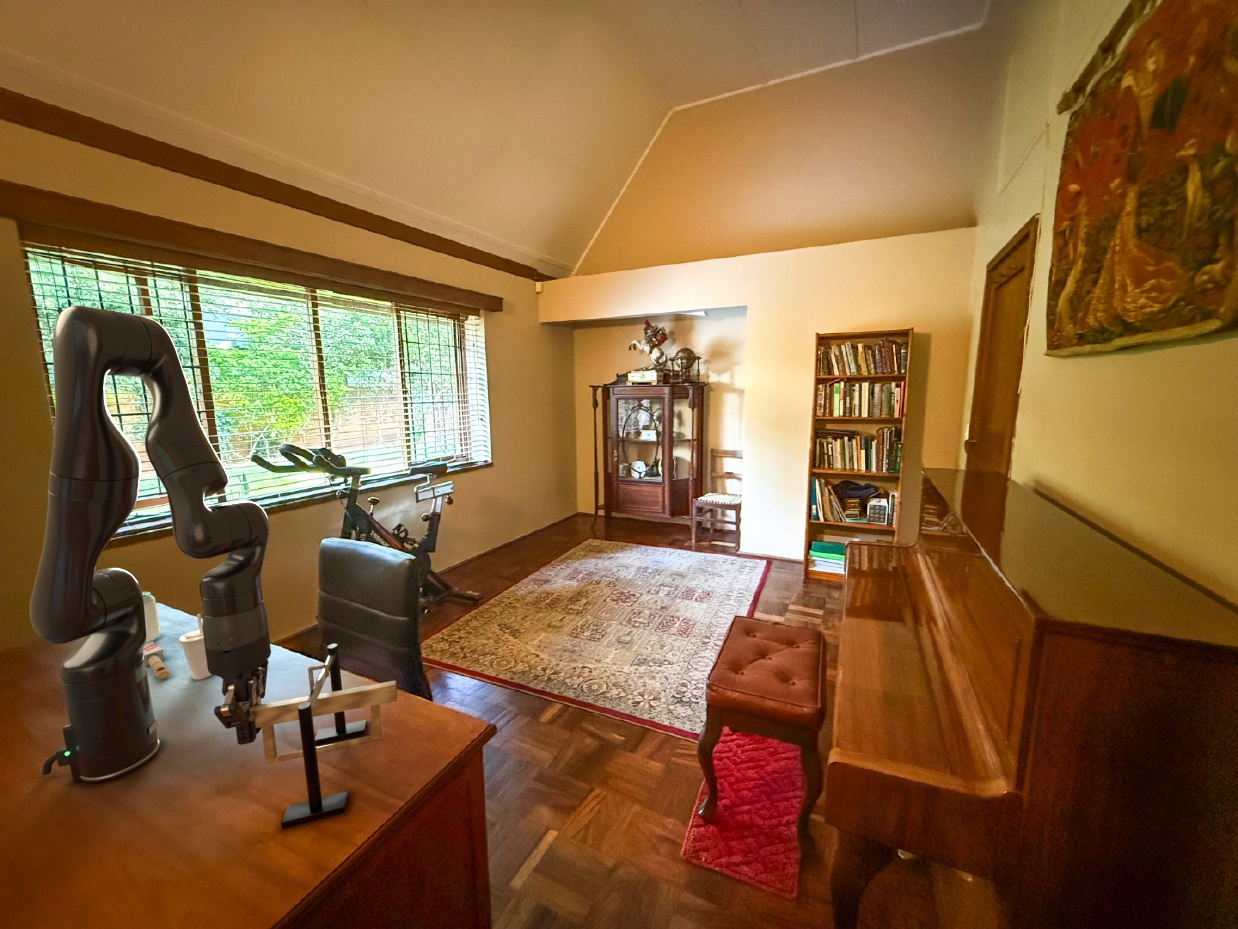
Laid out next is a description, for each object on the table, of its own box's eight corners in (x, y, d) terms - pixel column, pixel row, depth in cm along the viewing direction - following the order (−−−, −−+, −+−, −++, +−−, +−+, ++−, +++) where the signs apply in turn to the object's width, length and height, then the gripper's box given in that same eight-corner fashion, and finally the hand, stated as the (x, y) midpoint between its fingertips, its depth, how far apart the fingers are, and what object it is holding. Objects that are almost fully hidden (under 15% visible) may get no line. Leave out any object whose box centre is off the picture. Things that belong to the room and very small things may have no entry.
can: (152, 631, 123) (145, 588, 121) (166, 637, 120) (159, 593, 118) (115, 645, 117) (107, 599, 115) (130, 651, 114) (121, 604, 112)
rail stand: (281, 829, 67) (267, 718, 65) (318, 734, 86) (308, 645, 83) (344, 812, 70) (333, 705, 67) (367, 724, 88) (359, 638, 86)
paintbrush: (154, 634, 115) (174, 666, 104) (155, 645, 116) (175, 677, 104) (132, 641, 112) (150, 674, 101) (133, 651, 113) (151, 685, 101)
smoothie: (227, 671, 105) (219, 613, 103) (190, 686, 100) (181, 625, 98) (216, 663, 109) (208, 606, 106) (180, 677, 103) (170, 617, 101)
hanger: (244, 771, 73) (232, 681, 71) (248, 765, 74) (236, 676, 72) (399, 738, 80) (393, 656, 78) (400, 732, 81) (394, 651, 79)
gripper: (227, 617, 76) (239, 715, 78) (181, 663, 63) (198, 777, 66) (282, 611, 78) (292, 705, 81) (248, 653, 65) (262, 764, 68)
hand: (250, 737), depth 73 cm, fingers closed on hanger, 1 cm apart
